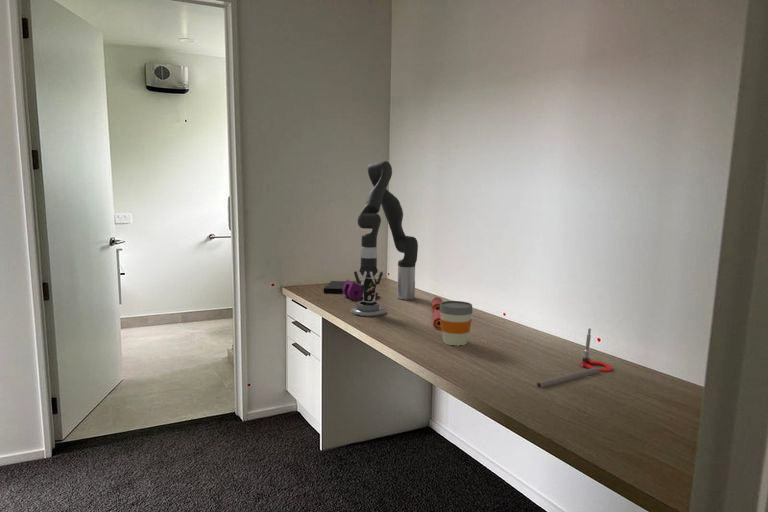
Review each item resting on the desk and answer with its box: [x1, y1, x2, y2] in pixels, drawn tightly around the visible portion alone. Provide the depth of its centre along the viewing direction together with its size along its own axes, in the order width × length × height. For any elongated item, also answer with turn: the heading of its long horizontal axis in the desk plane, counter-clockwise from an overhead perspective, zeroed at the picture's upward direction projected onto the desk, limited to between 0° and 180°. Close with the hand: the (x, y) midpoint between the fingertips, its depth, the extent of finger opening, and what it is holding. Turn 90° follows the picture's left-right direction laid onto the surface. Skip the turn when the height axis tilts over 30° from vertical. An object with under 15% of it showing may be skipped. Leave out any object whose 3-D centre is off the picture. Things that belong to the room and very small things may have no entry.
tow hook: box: [579, 328, 613, 373], centre depth 173 cm, size 8×13×9 cm
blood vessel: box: [431, 296, 443, 329], centre depth 239 cm, size 42×5×5 cm, turn 175°
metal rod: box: [536, 366, 600, 389], centre depth 163 cm, size 2×27×2 cm, turn 122°
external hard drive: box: [323, 280, 356, 294], centre depth 297 cm, size 14×23×3 cm, turn 176°
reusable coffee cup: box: [439, 300, 474, 347], centre depth 198 cm, size 13×13×15 cm
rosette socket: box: [350, 300, 386, 317], centre depth 243 cm, size 16×16×4 cm
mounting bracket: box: [343, 279, 379, 301], centre depth 277 cm, size 10×8×18 cm
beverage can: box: [362, 276, 377, 303], centre depth 242 cm, size 6×6×12 cm
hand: (368, 292), depth 243 cm, fingers closed on beverage can, 4 cm apart
